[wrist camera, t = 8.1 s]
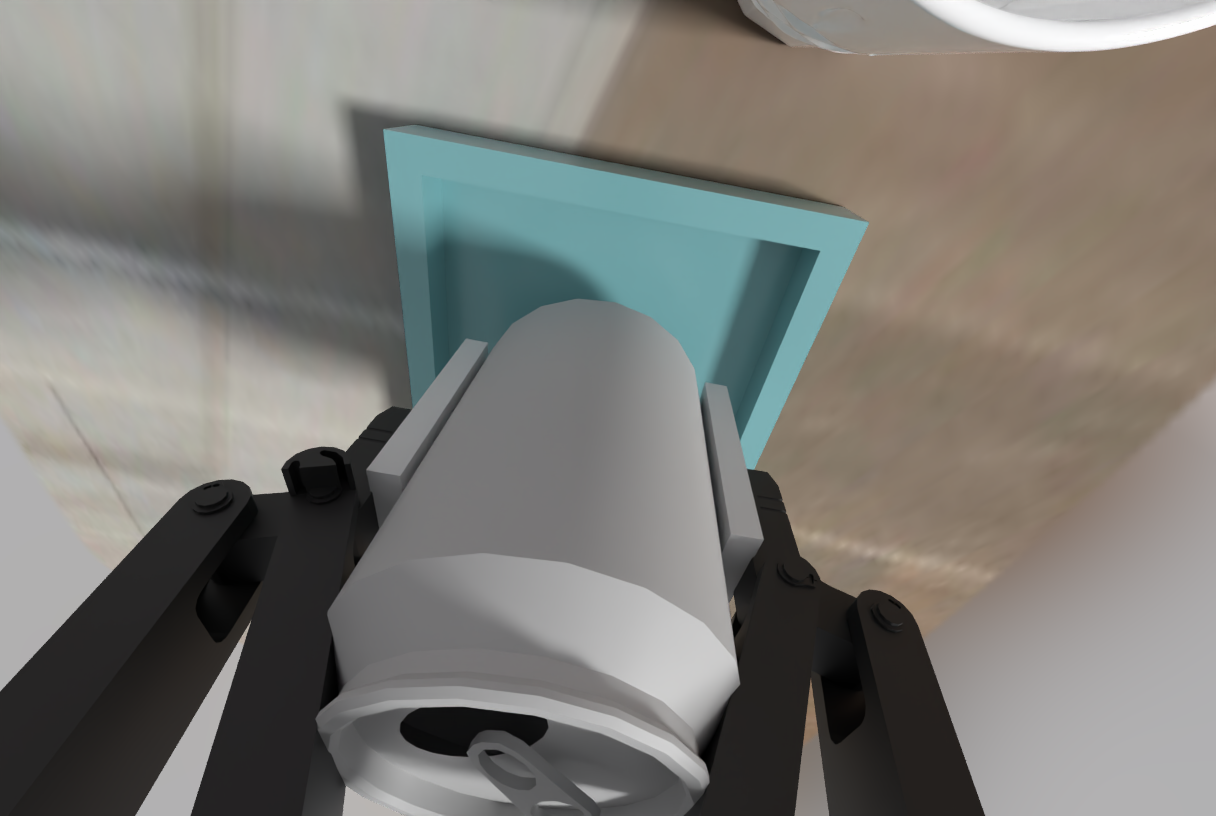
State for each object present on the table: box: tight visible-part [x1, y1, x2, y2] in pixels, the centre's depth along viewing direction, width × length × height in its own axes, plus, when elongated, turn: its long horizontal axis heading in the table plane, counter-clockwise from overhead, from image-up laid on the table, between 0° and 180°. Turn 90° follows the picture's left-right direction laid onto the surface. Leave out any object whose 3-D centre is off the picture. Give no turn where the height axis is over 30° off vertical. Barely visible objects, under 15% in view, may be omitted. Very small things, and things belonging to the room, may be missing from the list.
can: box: [316, 299, 740, 816], centre depth 12 cm, size 8×8×12 cm
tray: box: [383, 125, 869, 470], centre depth 18 cm, size 14×14×2 cm
